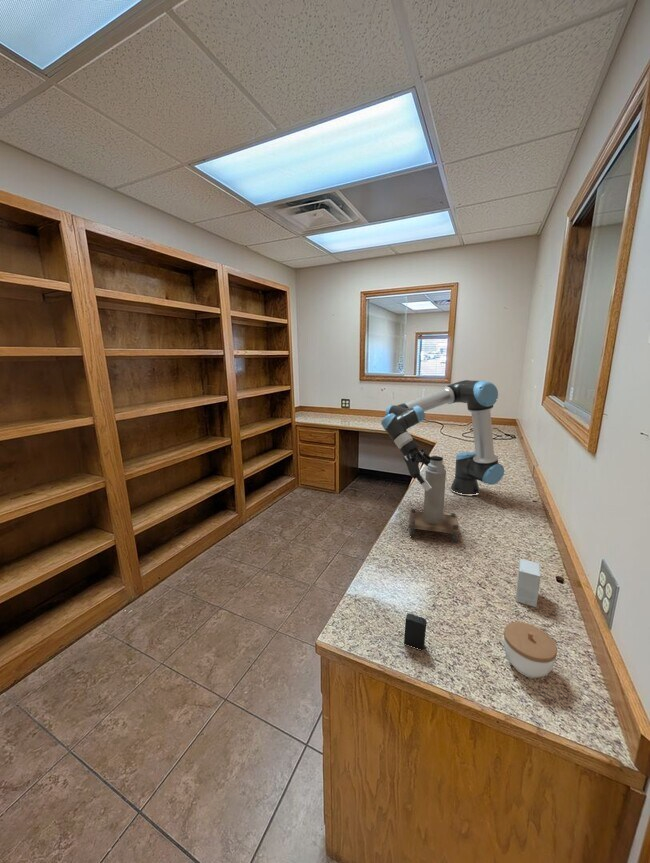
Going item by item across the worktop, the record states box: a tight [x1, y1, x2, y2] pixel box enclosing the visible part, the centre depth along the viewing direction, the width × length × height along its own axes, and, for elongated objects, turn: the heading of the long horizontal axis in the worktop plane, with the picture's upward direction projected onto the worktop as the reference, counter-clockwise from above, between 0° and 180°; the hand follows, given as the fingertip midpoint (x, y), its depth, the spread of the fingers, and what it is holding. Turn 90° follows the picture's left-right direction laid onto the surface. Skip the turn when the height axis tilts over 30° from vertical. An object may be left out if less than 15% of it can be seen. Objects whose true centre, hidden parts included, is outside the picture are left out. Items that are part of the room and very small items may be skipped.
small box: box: [515, 558, 542, 608], centre depth 101 cm, size 8×6×10 cm
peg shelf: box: [408, 508, 461, 544], centre depth 141 cm, size 20×14×7 cm
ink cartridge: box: [403, 612, 427, 651], centre depth 84 cm, size 5×2×8 cm, turn 65°
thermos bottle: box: [423, 455, 447, 524], centre depth 138 cm, size 8×8×28 cm
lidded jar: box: [503, 621, 558, 679], centre depth 78 cm, size 11×11×9 cm
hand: (436, 485), depth 137 cm, fingers open, 13 cm apart
